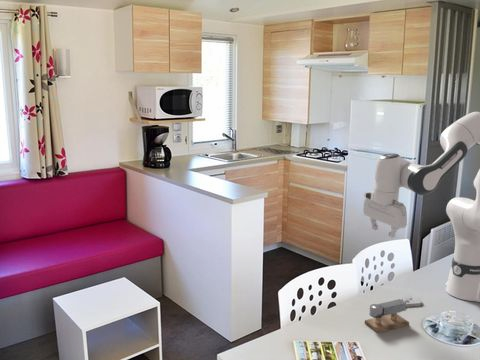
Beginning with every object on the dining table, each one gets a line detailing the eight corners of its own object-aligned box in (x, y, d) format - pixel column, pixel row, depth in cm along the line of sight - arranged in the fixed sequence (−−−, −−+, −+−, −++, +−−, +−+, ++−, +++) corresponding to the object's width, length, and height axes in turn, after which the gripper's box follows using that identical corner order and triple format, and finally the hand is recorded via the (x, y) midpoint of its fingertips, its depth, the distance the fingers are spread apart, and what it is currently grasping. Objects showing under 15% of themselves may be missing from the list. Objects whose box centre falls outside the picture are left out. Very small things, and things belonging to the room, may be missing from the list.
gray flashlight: (398, 305, 170) (398, 298, 170) (406, 311, 166) (407, 303, 166) (366, 313, 165) (367, 305, 164) (375, 318, 161) (375, 310, 160)
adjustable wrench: (376, 320, 171) (376, 315, 170) (364, 312, 176) (364, 308, 176) (424, 305, 182) (424, 300, 182) (411, 298, 188) (411, 294, 187)
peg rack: (395, 316, 173) (396, 304, 172) (408, 325, 166) (409, 312, 165) (364, 323, 167) (365, 311, 166) (377, 332, 161) (378, 320, 160)
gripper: (412, 203, 164) (409, 240, 167) (374, 190, 183) (372, 224, 186) (398, 205, 162) (395, 242, 165) (361, 192, 180) (359, 226, 183)
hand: (382, 233), depth 175 cm, fingers open, 8 cm apart
